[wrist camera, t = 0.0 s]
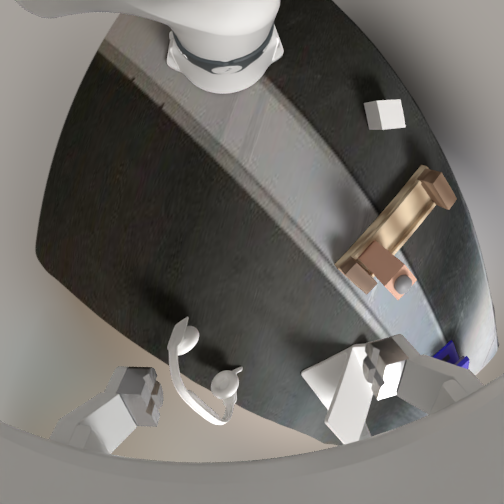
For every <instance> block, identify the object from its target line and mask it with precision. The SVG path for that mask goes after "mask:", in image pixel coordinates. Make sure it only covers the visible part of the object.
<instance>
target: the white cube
mask: <svg viewBox="0 0 504 504" xmlns="http://www.w3.org/2000/svg"><path fill="white" fill-rule="evenodd" d="M364 107H365V112H366V116H367V121H368V126H369V130H384V129H393V128H404V127H406V126H405V120H404V115H403V110H402V105H401V100H400V99H399V100H378V101H372V102H367V103H364Z"/></svg>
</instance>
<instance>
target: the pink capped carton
mask: <svg viewBox="0 0 504 504" xmlns="http://www.w3.org/2000/svg"><path fill="white" fill-rule="evenodd" d="M358 258H359V259H360V261H361V262H362V263H363V264H364V265H365V266H366V267H367V268H368V269H369V270H370V271H371V272H372V273H373V274H374V275H375V276H376V277H377V278H378V279H379V281H380V282H381V283H382V284H383V285H384V286H385V287H386V288H387V289H388V290H389V291H390V292H391V293H392V294H393V295H394V296H395V297H396V299H397V300H399V299H400V298H401V297H402V296H403V295H404V294H405V293H407V292H408V291H409V290H410V288H411V286H412V285H413V284H414V283H415V282H416V281H417V279H416V278H415V277H414V276H413V274H412V273H411V272H410V271H409V269H408V268H407V267H406V266H405V264H403V263H402V262H401V261H400V260H399V259H398V258H396V257H395V256H394V255H393V254H391V253H390V252H389V251H388V250H387V249H385V248H384V247H383V246H382V245H380V244H379V243H378V242H377V241H375V240H373V241H372V243H371V244H370V245H369V246H368V247H367V248H366V249H365V250H364V251H363V252H362V254H361V255H360V256H359V257H358Z"/></svg>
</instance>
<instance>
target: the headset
mask: <svg viewBox="0 0 504 504" xmlns="http://www.w3.org/2000/svg"><path fill="white" fill-rule="evenodd" d="M188 320H189V317H186V318H184V319H183V320H181V321H180V322H179V323H177V324H176V325H175V327H174V329H173V332H172V335H171V337H170V340H169V343H168V346H167V349H168V350H169V367H170V374H171V378H172V381H173V384H174V386H175V388H176V390H177V392H178V394H179V395H180V396H181V398H182V399H183V400H184V401H185V402H186V403H187V404H188V405H189V406H190V407H191V408H192V409H193V410H194V411H196V412H197V413H198V414H199V415H201V416H202V417H203V418H205V419H206V420H207V421H209V422H211V423H213V424H216V425H223V424H225V423H226V422H228V421H229V420H230V419H231V416H232V413H233V409H234V404H235V403H236V401H237V392H236V390H237V388H238V385H239V380H238V377H237V375H236V374H237V373H238V372H240V371H242V367H239V368H237V369H234V370H232V371H230V370H224V371H221V372H220V373H218V374H217V375H216V376H215V377H214V379H213V381H212V383H211V391H212V393H213V395H214V396H215V397H217V398H219V399H223V404H224V405H225V406H226V410H225V414H224V417H223V418H222V420H220V417H219V415H218V414H217V413H216V412H214V411H213V410H212V409H211V408H210V407H209V406H208V405H206V404H205V403H204V402H203V401H202V400H201V399H200V398H199V397H198V396H197V395H196V394H195V393H193V392H192V391H190V390H187V389H186V388H185V386H184V384H183V381H182V379H181V376H180V371H179V365H178V355H183V354H185V353H187V352H188V351H190V350H191V349H192V348H193V347H194V346H195V345H196V343H197V342H198V339H199V332H198V330H197V329H196V328H195V327H193V326H187V324H188Z"/></svg>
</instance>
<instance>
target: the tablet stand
mask: <svg viewBox="0 0 504 504" xmlns="http://www.w3.org/2000/svg"><path fill="white" fill-rule="evenodd" d="M366 344H367V343H365V344H354V345H353V346H351V347H349V348H347V349H345V350H343V351H341V352H340V353H338V354H336V355H334V356H332V357H330V358H328V359H326V360H324V361H322V362H320V363H318V364H316V365H314V366H312V367H309V368H307V369H305V370H303V371H302V372H301V374H302V376H303V378H304V379H305V380H306V382H307V383H308V384H309V386H310V387H311V388H312V390H313V391H314V392H315V393H316V395H317V396H318V397H319V399H320V400H321V401H322V403H323V404H324V405H325V407H326V408H327V409H328V412H327V415H326V417H325V424H326V425H327V426H328V427H329V428H330V429H331V430H332V432H333V433H334V434H335V435H336V436H337V437H338V438H339V439H340V440H341V442H342V443H343V444H344V445H345V444H348V443H352V442H356V441H359V438H360V435H361V432H362V429H363V426H364V423H365V420H366V416H367V413H368V410H369V406H370V403H371V399H372V395H373V394H374V393H373V391H372V390H371V387H372V384H371V383H369V382H367V381H366V379H365V377H364V374H363V367H362V366H363V360H364V358H365V357H366V356H367V354H366V352H365V346H366Z"/></svg>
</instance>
